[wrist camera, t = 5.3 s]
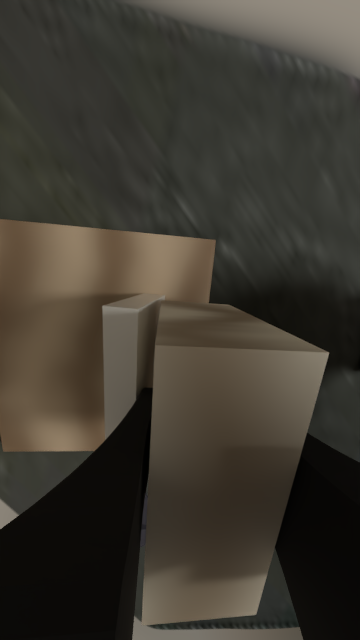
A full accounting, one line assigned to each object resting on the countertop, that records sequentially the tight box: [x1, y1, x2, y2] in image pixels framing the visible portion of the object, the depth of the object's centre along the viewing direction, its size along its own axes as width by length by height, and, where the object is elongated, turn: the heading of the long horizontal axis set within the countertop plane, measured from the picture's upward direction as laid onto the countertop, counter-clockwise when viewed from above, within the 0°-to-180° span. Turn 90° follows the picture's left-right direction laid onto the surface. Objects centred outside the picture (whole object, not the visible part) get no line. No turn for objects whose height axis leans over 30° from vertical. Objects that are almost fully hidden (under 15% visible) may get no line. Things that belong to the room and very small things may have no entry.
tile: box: [102, 293, 165, 440], centre depth 12 cm, size 2×10×6 cm, turn 176°
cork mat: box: [0, 219, 216, 451], centre depth 15 cm, size 16×18×1 cm
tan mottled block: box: [142, 300, 329, 625], centre depth 9 cm, size 4×10×7 cm, turn 176°
